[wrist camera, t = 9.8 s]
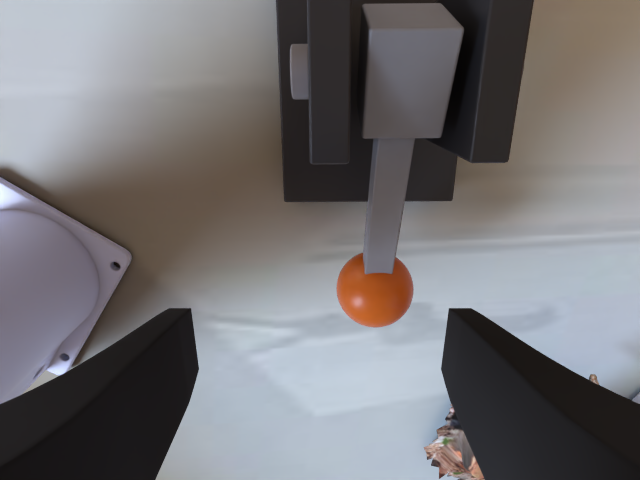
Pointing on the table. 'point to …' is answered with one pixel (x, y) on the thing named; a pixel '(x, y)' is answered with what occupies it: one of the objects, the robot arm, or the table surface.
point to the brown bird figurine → (457, 450)
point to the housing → (341, 91)
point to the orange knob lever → (395, 140)
